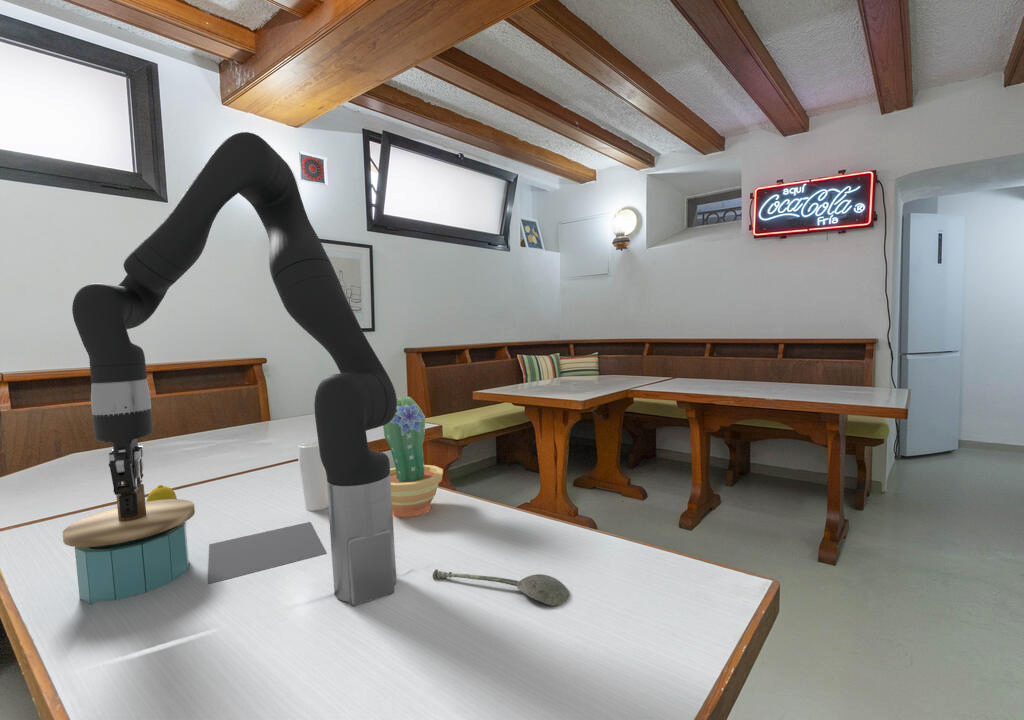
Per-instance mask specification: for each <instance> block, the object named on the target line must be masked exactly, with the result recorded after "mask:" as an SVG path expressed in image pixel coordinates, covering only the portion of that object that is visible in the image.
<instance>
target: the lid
mask: <svg viewBox="0 0 1024 720" xmlns="http://www.w3.org/2000/svg"><path fill="white" fill-rule="evenodd" d="M137 487H138V490H137V499H138V510H139V513H138V515H137V516H134V517H129V518H122V517H121V514H120V503H119V496H117V495H115V496H116V498H115V499H116V505H117V506H116V507H115V508H112V509H108V510H103V511H101V512H97V513H95V514H92V515H89V516H86V517H83V518H81V519H79V520H77V521H75V522H72V524H70V525H68V526H66V527H65V528H64V529H63V531H62V542H63V543H64V545H66V546H69V547H71V548H72V547H74V548H75V547H96V546H105V545H112V544H118V543H123V542H128V541H132V540H136V539H140V538H144V537H148V536H151V535H154V534H157V533H160V532H163V531H166V530H169V529H171V528H174V527H176V526H178V525H180V524H182V523H184V522H185V523H186V522H187V521H189V520H190V519H191V518H192V517H194V515H195V513H196V511H195V503H194V502H193V501H191V500H187V499H180V498H179V499H178V498H177V499H167V500H156V501H148V502H146V496H145V486H144V484H143V483H141V484H137Z"/></svg>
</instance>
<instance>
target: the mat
mask: <svg viewBox="0 0 1024 720" xmlns="http://www.w3.org/2000/svg"><path fill="white" fill-rule="evenodd" d="M327 554H328V552H327V551H326V549H325V547H324V545H323V543H322V542H321V539H320V537H319V535H318V533H317V532H316V529H315V527H314V526H313V524H312V522H311V521H308V522H303V523H299V524H294V525H290V526H289V525H288V526H285V527H281V528H276V529H272V530H268V531H267V530H266V531H263V532H258V533H254V534H249V535H245V536H240V537H236V538H232V539H227V540H222V541H217V542H214V543H209V546H208V561H207V562H208V565H207V582H206V583H207V585H210V584H211V585H212V584H214V583H219V582H223V581H226V580H227V581H228V580H231V579H234V578H239V577H242V576H246V575H250V574H254V573H257V572H261V571H264V570H269V569H274V568H276V567H277V568H278V567H280V566H284V565H289V564H293V563H297V562H301V561H304V560H307V559H312V558H315V557H320V556H323V555H327Z"/></svg>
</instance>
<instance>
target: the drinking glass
mask: <svg viewBox="0 0 1024 720" xmlns="http://www.w3.org/2000/svg"><path fill="white" fill-rule="evenodd" d="M297 456H298V457H297V459H298V466H299V467H298V468H299V472H300V473H299V474H300V478H301V485H302V491H303V492H302V493H303V496H304V505H305V506H304V508H305V510H306V511H310V512H314V511H315V512H316V511H317V512H318V511H321V510H325V509H327V508H329V507H328V490H327V476H326V471H325V468H324V466H323V464H322V461H321V458H320V452H319V444H318V440H311V441H306V442H302V443H299V444H298V445H297Z"/></svg>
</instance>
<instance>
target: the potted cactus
mask: <svg viewBox="0 0 1024 720" xmlns="http://www.w3.org/2000/svg"><path fill="white" fill-rule="evenodd" d="M382 427H383V434H384V436H383V437H384V438H385V441H386V443H387V444H388V446H389V448H390V452H391V456H392V459H393V463H394V467H393V468H392V467H390V479H391V498H392V514H393V517H396V518H397V517H399V518H411V517H412V518H413V517H417V516H420V515H424V514H426V513H428V512H429V511H430V510H431V507H432V505H431V503H432V501H433V499H434V498H435V497H436V494H437V491H438V487H439V483H441V482H442V481H443V475H444V468H441V467H439V466H436V465H431V464H430V465H429V464H425V460H424V450H423V449H424V448H423V446H424V445H423V444H424V439H425V435H426V415H425V414H424V412H423V411H422V409H421V407H419V405H418V403H417V402H416V401H415V400H414V399H413V398H412V397H411V396H407V397H405V398H404V397H402V396H399V397H398V399H397V408H396V412H395V415H394V417H393V419H392V420H391V421H390V422H389V423H387V424H385V425H383V426H382Z"/></svg>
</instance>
